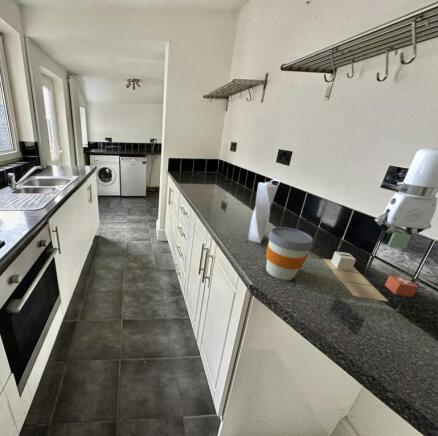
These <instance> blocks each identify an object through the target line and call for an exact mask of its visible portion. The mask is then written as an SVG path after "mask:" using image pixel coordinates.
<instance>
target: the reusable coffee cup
mask: <svg viewBox="0 0 438 436" xmlns="http://www.w3.org/2000/svg"><path fill="white" fill-rule="evenodd" d="M313 241H314V239H313V237H312V236H311V235H310V234H309V233H307V232H304V231H302V230H300V229H297V228H292V227H288V226H287V227H286V226H276V227H273V228H271V229H270V232H269V234H268V243H267V244H266V245H267V246H266V254H265V257H266V267H265V270H266V272H267V273H268V274H269V275H270V276H272V277H273V278H276V279H279V280H283V281H292V280H293V279H294V278H295V277H296V275H297V273H298V272H299V270H300V269H301V268H302V267H303V265H304V263H305V261H306V259H307V257H308V256H309V255H308V252H309V251H311V249H312V246H313Z"/></svg>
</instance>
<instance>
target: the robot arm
mask: <svg viewBox="0 0 438 436" xmlns="http://www.w3.org/2000/svg"><path fill="white" fill-rule="evenodd" d="M395 190H397V192H395V193H394V194H393V196H392V197H391V198H390V200H389V202H388V203H387V204H386V207H385V209H384V210H383V213H382V214H381V215H379V216H378V217H377V218H375V219H374V220H373V221H374V222H375V223H376V224H377V225H378V226H379V228H380V229H381V233H380V235H379V237H378V241H379V242H380V243H381V244H383V245H386V244H388V242H389V240H390V238H391V236H392V234H391V231H392V230H393V229H396V228H397V227H399V228H400V227H401V228H405V231H404V232H406V233H408V234H410V235H412V237H411V239H410V241H409V243H408V245H407V247H408V246H409V244H410V243H411V240H412V239H413V237H416V236H417V234H420V233H422V232H423V231H426V230H429V229H432V224H431V222H432V220H433V218H434V216H435V212H436V210H437V205H438V197H436V195H437V194H438V147H437V148H433V147H424V148H420V149H418V150H417V151H416V153H415V155H414V157H413V159H412V161H411V163H410V166H409V168H408V170H407V172H406V175H405V177H404V179H403V182H402V183H401V185H397V186H395Z"/></svg>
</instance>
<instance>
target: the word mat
mask: <svg viewBox="0 0 438 436" xmlns="http://www.w3.org/2000/svg"><path fill="white" fill-rule="evenodd" d="M322 259H323V261H324V262H325V264H326V265H327V266H328V267H329V268H330V269H331V271H332V272H333V273H334V274H335V275H336V277H337V278H338V279H339V281H341V283H342V284H343V285H344V287H346V289H347V290H348V291H349V292H350V293H351V294H352V296H353V297H358V298H359V297H360V298H363V299H370V300H376V301H383V302H388V303H389V301H390V300H388V299H387V298H386V297H385V296H384V295H383V294H382V293H381V292H380V291H379V290H378V289H377V288H376V287H375V286H374V285H373V284H372V283H371V282H370V281H369V280H368V279H367V278H366V277H364V275H363V274H361V272H360V271H359V270H358V269H357V268H356V267H355V266H353V268H352V270H345V269H338V268H336V267H335V266H334V265H333V263H332V262H331V261H332V259H328V258H322Z"/></svg>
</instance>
